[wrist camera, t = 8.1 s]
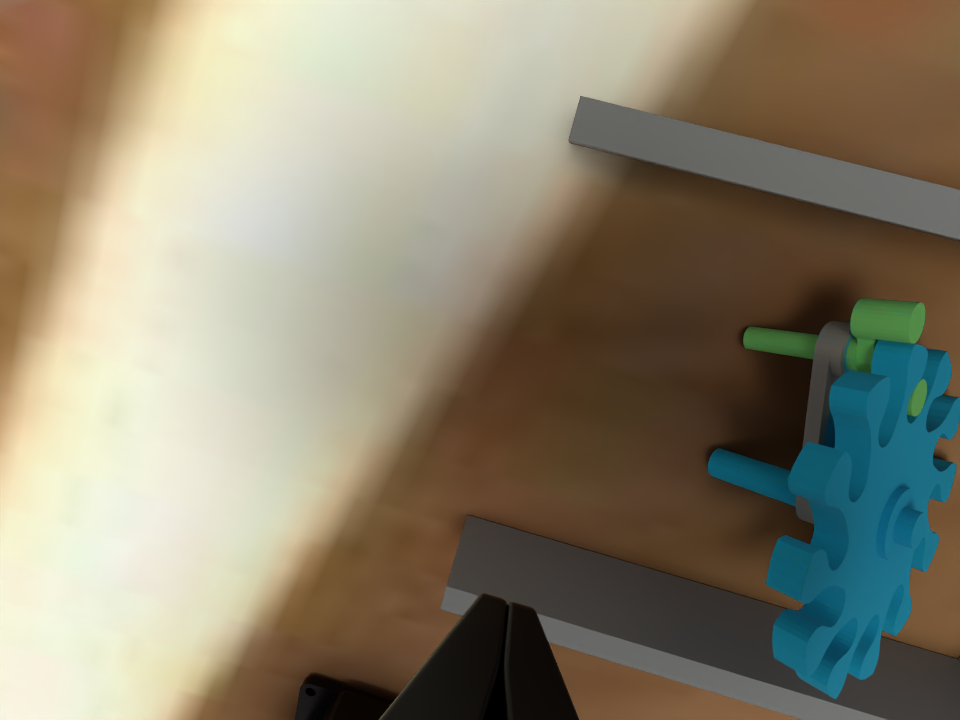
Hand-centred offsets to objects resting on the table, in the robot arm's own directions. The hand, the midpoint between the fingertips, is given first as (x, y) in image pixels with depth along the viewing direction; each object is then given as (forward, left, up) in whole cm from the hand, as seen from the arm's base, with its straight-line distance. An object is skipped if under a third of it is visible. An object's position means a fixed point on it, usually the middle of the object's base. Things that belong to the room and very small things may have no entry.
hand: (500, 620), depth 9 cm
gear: (0, -10, -13) cm, 16 cm away
